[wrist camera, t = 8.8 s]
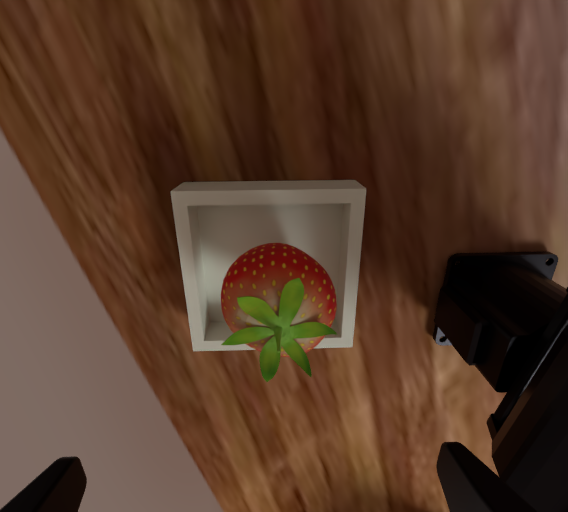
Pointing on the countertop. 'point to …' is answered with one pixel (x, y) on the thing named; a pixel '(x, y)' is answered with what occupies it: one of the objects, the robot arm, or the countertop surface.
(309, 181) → the bin
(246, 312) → the fruit
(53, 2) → the countertop surface
